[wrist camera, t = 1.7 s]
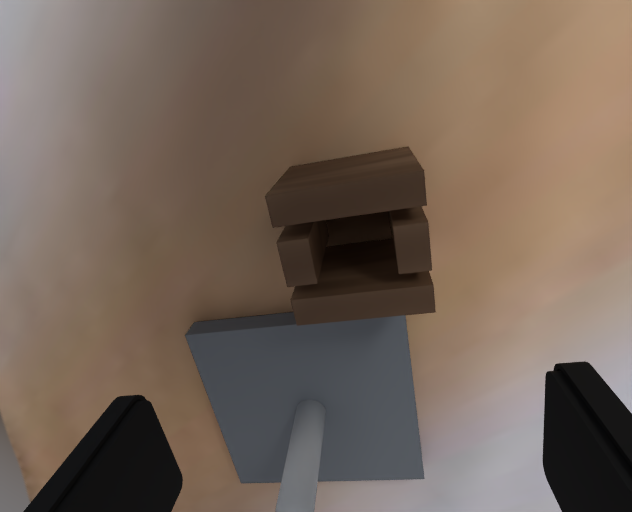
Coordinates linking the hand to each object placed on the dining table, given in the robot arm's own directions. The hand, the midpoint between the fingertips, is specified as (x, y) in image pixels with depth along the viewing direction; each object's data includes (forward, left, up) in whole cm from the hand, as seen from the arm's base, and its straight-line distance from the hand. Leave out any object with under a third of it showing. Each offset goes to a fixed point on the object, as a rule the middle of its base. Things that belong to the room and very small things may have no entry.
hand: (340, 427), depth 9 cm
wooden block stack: (-1, 0, -15) cm, 15 cm away
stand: (+12, -5, -15) cm, 20 cm away
